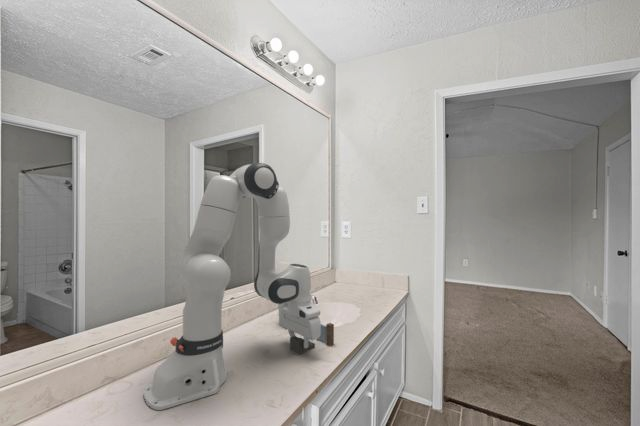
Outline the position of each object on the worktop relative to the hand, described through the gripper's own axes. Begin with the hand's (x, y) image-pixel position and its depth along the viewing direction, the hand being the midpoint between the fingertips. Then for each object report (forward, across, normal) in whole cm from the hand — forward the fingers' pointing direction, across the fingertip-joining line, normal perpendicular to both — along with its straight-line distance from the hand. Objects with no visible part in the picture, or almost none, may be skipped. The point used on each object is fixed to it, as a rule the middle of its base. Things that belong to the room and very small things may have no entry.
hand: (299, 344), depth 111 cm
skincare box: (+2, -23, +12) cm, 26 cm away
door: (+2, -5, +12) cm, 13 cm away
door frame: (+2, -4, +12) cm, 12 cm away
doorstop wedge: (+2, 0, +2) cm, 3 cm away
